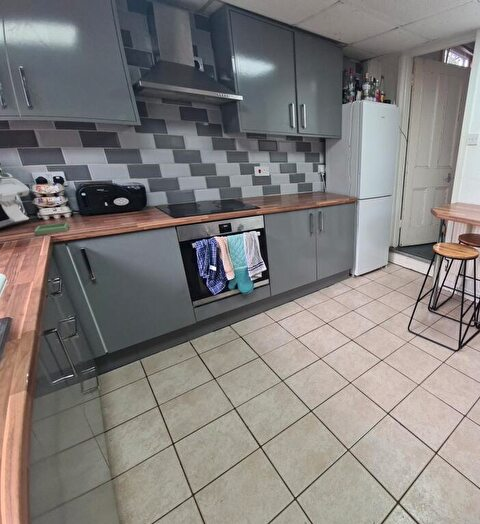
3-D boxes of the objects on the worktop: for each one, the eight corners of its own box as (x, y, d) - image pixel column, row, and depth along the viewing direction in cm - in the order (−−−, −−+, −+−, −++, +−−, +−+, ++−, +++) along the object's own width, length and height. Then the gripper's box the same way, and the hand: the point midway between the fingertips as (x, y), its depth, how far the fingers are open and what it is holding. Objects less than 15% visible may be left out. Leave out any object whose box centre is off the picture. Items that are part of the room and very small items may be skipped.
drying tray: (35, 235, 145) (33, 231, 144) (39, 229, 153) (37, 225, 152) (66, 231, 151) (65, 227, 151) (68, 225, 160) (67, 222, 159)
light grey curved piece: (15, 221, 127) (1, 194, 122) (8, 220, 129) (-5, 192, 124) (29, 219, 131) (16, 192, 126) (22, 217, 133) (9, 191, 128)
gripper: (-47, 179, 114) (-13, 205, 117) (14, 173, 133) (41, 195, 136) (-51, 190, 116) (-17, 215, 119) (9, 182, 135) (37, 204, 138)
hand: (14, 204), depth 128 cm, fingers closed on light grey curved piece, 3 cm apart
